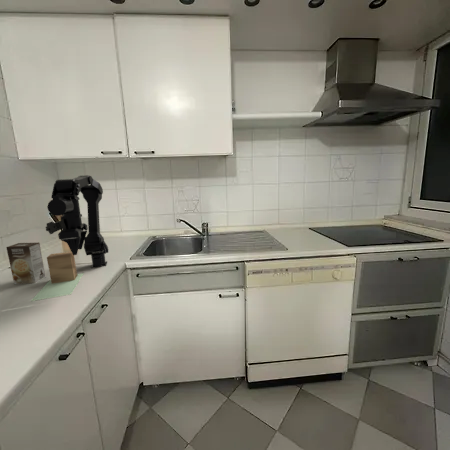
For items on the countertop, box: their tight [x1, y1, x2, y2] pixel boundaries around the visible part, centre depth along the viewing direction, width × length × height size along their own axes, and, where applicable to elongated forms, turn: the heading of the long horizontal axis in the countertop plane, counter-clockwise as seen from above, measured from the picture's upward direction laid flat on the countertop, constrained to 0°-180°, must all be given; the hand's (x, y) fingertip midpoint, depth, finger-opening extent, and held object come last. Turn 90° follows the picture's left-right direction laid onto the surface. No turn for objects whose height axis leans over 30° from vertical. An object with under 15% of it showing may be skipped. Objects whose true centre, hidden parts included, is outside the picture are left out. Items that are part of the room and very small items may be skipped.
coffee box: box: [5, 242, 46, 285], centre depth 98 cm, size 9×6×16 cm
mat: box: [30, 272, 85, 302], centre depth 93 cm, size 22×12×1 cm, turn 20°
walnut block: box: [46, 251, 78, 284], centre depth 97 cm, size 5×8×11 cm, turn 110°
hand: (77, 252), depth 93 cm, fingers open, 9 cm apart
